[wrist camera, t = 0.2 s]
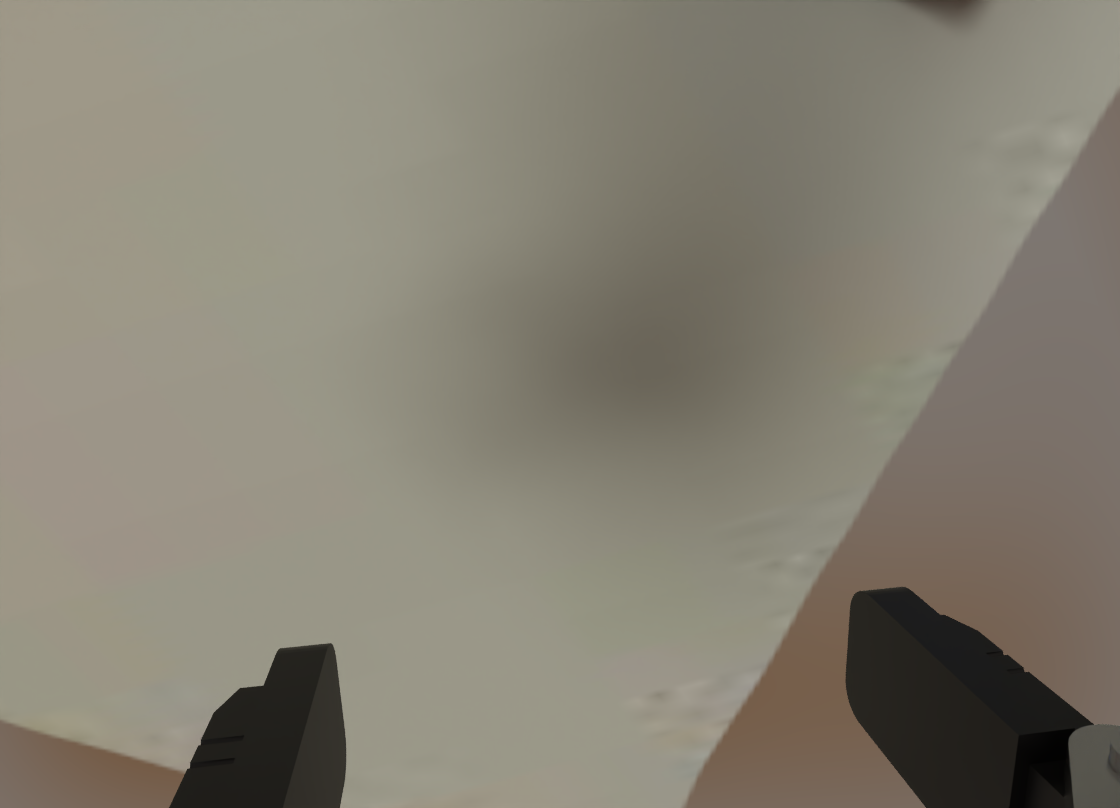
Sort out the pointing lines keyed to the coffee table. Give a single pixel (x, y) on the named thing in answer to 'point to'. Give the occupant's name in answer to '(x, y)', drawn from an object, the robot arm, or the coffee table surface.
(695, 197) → the coffee table surface
